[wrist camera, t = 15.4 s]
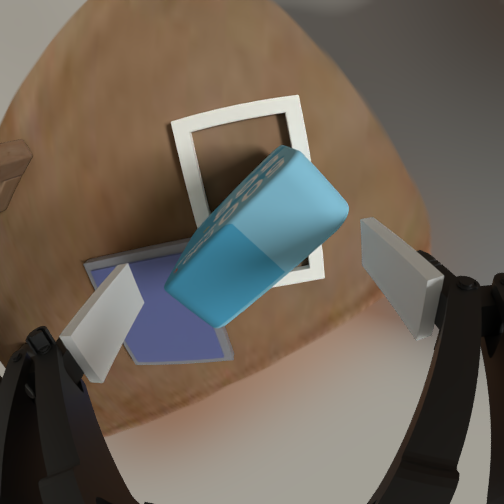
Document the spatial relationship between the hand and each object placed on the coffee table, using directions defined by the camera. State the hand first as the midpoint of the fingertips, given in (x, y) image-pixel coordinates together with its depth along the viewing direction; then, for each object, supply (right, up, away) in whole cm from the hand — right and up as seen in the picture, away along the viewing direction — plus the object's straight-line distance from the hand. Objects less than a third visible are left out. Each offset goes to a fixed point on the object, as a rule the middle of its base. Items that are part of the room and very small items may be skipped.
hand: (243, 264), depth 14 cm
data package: (+1, +5, +12) cm, 13 cm away
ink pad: (-11, -7, +18) cm, 22 cm away
